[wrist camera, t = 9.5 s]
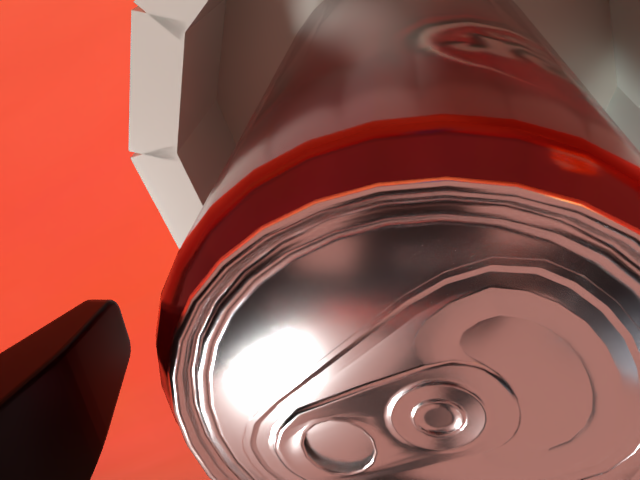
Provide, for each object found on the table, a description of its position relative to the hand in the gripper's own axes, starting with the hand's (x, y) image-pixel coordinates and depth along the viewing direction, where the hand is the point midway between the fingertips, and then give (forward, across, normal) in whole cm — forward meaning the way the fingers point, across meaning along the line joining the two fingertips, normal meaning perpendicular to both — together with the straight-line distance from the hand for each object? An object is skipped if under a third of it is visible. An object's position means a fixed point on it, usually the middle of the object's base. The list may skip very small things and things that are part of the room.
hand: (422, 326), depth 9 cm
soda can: (+11, 0, 0) cm, 11 cm away
